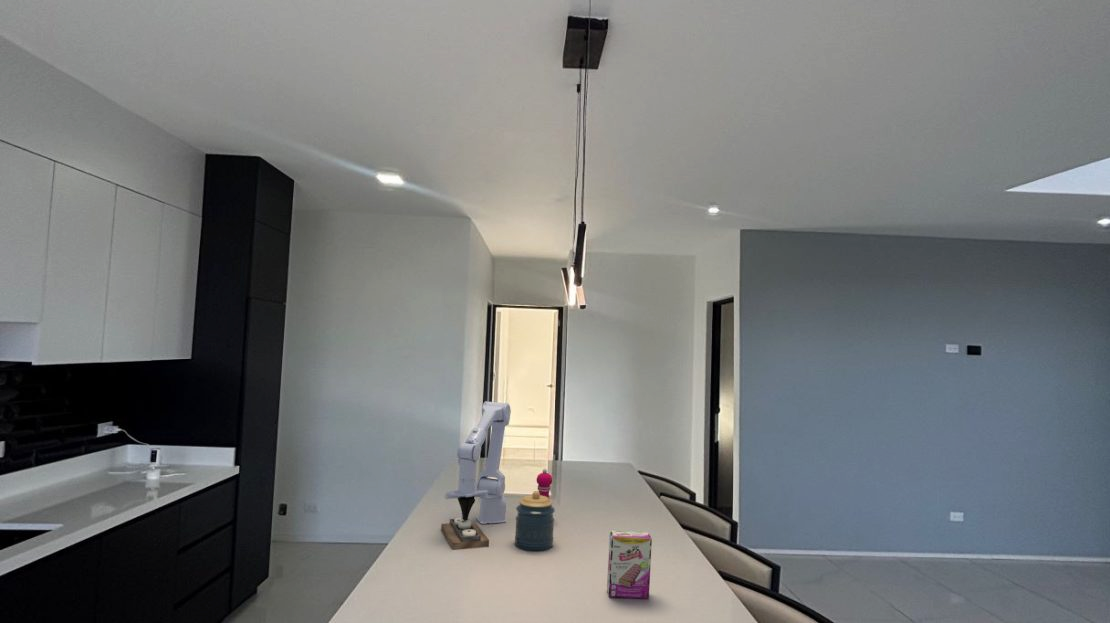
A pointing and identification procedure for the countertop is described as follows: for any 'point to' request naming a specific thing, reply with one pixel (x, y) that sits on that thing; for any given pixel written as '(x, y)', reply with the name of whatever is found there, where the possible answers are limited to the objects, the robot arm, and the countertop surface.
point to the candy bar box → (629, 564)
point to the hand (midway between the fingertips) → (465, 519)
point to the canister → (534, 523)
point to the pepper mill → (544, 483)
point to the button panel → (460, 542)
